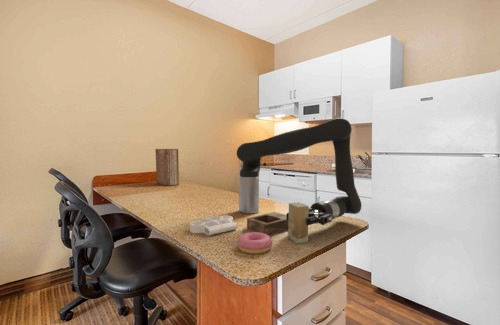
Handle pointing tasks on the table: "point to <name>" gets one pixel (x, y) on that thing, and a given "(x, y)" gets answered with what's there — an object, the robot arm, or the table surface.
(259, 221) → the walnut holder
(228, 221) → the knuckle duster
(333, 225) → the table surface
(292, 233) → the skincare box
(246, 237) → the doughnut
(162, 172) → the brown wooden block
